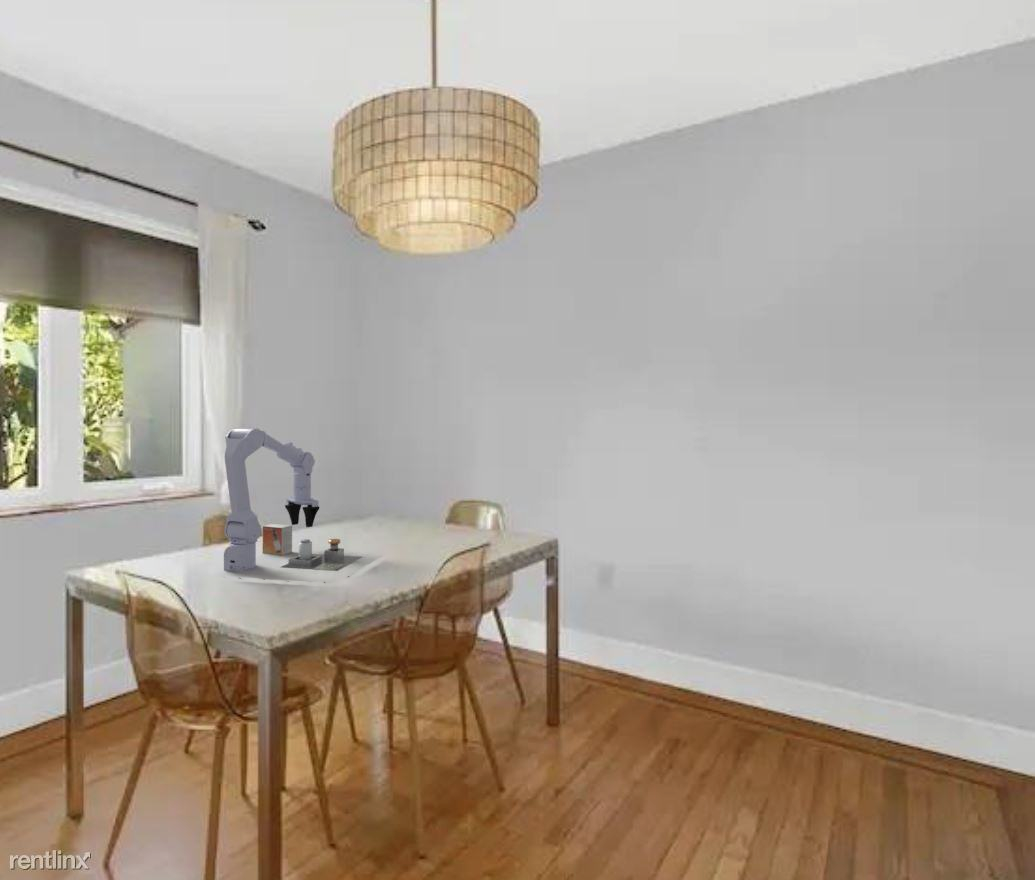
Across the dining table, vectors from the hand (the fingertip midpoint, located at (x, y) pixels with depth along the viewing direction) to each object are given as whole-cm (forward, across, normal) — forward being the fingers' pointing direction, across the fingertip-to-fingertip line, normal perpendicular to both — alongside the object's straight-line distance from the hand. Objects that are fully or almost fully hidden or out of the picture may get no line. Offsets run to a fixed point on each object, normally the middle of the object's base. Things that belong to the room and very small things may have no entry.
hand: (302, 525), depth 222 cm
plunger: (+7, -18, +2) cm, 20 cm away
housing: (+10, -18, +6) cm, 22 cm away
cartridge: (+9, -14, +10) cm, 20 cm away
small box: (+10, +5, +6) cm, 13 cm away
